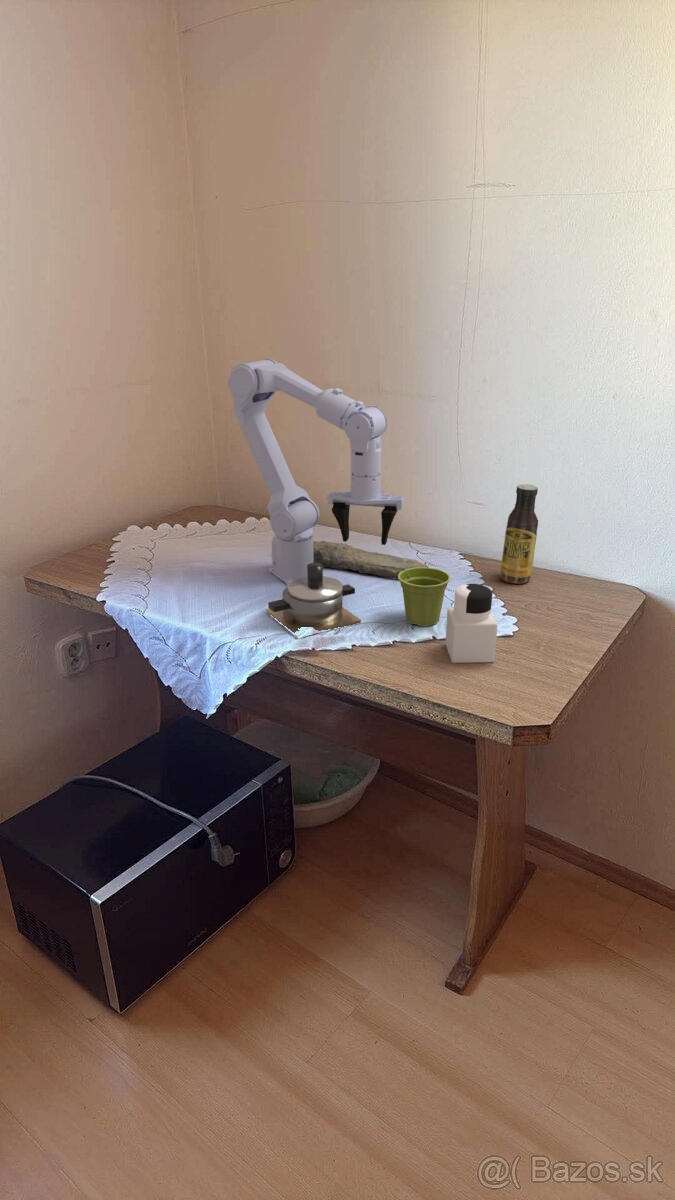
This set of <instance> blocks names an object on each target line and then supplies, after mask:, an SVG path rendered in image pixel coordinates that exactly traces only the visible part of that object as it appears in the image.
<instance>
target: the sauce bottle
mask: <svg viewBox="0 0 675 1200" xmlns="http://www.w3.org/2000/svg"><path fill="white" fill-rule="evenodd" d="M515 492H516V497H515V498H516V499H515V504H514V507H513V509H512V511H511V512H510V514H509V515H508V517H507V523H506V527H505V534H504V542H503V549H502V556H501V557H502V558H501V566H500V578H501V580H502V581H504V582H505V583H509V584H516V585H523V584H527V583H528V582H529V581H530V578H531V576H532V573H533V572H532V571H533V566H534V565H533V563H534V557H535V551H536V544H537V543H536V542H537V537H538V526H539V520H538V517H537V514H536V513H535V508H536V506H535V504H536V498H537V495H538V492H539V489H538V487H537V485H534V484H528V483H522V484H518V485H517V486H516V491H515Z"/></svg>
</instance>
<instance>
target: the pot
mask: <svg viewBox="0 0 675 1200" xmlns="http://www.w3.org/2000/svg"><path fill="white" fill-rule="evenodd" d="M342 585H343V584H342ZM355 593H356V588H355V587H353V586H352V585H350V584H349V583H348V584H344V585H343V593H342V595H341V596H340V597H338V598H337V599H334V600H332V601H328V602H321V603H308V602H302V601H298V600H295V599H293V598H291V597H290V596H289V594H288V586H287V587H285V588H284V589H283V591H282V594H281V596H282V599H277V600H273V601H269V602H268V603H267V605H268V608H267V609H265V612H266V611H267V612H268V613H269V614H270V615H272V616H273V617H274V618H276V619H277V620H278V621H279V622H281V623H282V624H283V625H284V626H286V627H287V628H288V629H290V630H291V631H292V632H294V633H295V632H296V631H299V630H298V628H299V629H300V628H301V627H313V628H314V629H315V630H318V631H321V630H328V629H334V628H338V627H343V628H345V627H344V626H347V627H350V626H349V625H351V626H354V625H353V624H355V625H358V624H357V623H359V624H361V623H362V620H361V618H359V617H358V616H356V615H354V614H353V613H352V612H351V611H349V610H348V609H346V608H344V606H343V597H346V596H350V595H355ZM270 615H269V616H270ZM360 622H361V623H360Z"/></svg>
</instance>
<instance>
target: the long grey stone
mask: <svg viewBox="0 0 675 1200" xmlns="http://www.w3.org/2000/svg"><path fill="white" fill-rule="evenodd" d="M313 557H314V563H320V564H322V565H323V568H330V569H334V570H335V569H336V570H340V571H342V570H343V571H344V570H351V571H354V572H358V573H359V574H371V575H376V576H380V577H382V576H383V578H387V577H388V578H387V579H392V578H396V579H395V580H399V579H398V574H399V573H400V572H401V571H403V570H406V569H409V568H417V567H427V568H430V567H429V565H428V564H424V563H422V562H421V561H419V560H416V559H414V558H413V559H412V558H404V557H400V556H395V555H391V554H386V553H379V552H373V551H366V550H363V549H361V548H357V547H354V546H352V545H348V544H347V543H343V542H331V541H330V542H329V541H325V540H322V541H317V540H316V541H314V540H313Z"/></svg>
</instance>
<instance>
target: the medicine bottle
mask: <svg viewBox="0 0 675 1200" xmlns="http://www.w3.org/2000/svg"><path fill="white" fill-rule="evenodd" d="M453 603H454V604H453V606H452V607H451V606H450V607H447V610H446V611H447V613H446V628H445V646H446V649H447V652H448V654H449V658H450V660H451V663H452V664H466V663H470V664H471V663H472V664H474V663H477V664H478V663H494V662H495V658H496V647H497V635H498V622H497V620H496V618H495V616H494V615H493V612H492V603H493V591H492V590H491V588H489V587H487V586H486V585H483V584H480V583H466V584H462V585H459V586H458V587H456V588H455V590H454V602H453Z"/></svg>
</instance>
